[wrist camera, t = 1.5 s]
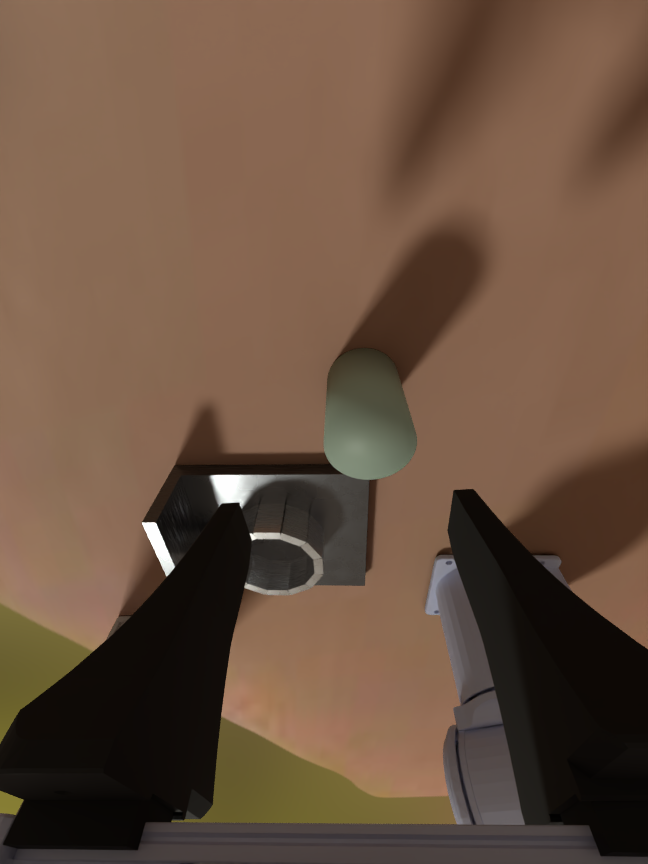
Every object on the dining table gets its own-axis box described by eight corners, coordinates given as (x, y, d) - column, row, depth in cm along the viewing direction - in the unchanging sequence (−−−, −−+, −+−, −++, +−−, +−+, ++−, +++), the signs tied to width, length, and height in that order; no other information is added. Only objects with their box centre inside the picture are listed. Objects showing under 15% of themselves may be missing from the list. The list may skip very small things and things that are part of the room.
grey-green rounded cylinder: (401, 347, 20) (421, 404, 15) (395, 411, 22) (412, 479, 17) (326, 348, 20) (321, 405, 15) (328, 412, 22) (325, 480, 17)
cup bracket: (368, 464, 24) (374, 522, 20) (364, 574, 31) (367, 635, 27) (174, 465, 25) (141, 522, 21) (211, 573, 32) (192, 632, 28)
